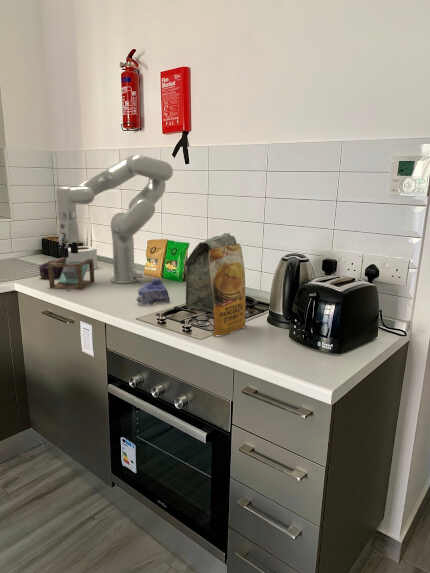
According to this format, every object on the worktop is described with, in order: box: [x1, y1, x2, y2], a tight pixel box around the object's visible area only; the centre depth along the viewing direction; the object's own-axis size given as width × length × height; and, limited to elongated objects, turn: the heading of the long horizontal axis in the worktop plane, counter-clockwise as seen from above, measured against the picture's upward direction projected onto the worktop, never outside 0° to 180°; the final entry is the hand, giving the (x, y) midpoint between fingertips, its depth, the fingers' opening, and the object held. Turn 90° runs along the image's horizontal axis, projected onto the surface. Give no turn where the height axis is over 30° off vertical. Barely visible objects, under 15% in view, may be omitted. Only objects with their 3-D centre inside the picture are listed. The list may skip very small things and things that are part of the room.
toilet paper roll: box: [65, 245, 99, 272], centre depth 230 cm, size 16×15×11 cm
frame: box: [48, 257, 95, 291], centre depth 196 cm, size 14×14×11 cm
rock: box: [38, 258, 63, 280], centre depth 210 cm, size 12×9×10 cm
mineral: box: [135, 278, 171, 305], centre depth 173 cm, size 14×10×10 cm
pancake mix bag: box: [208, 243, 246, 337], centre depth 141 cm, size 7×19×28 cm, turn 138°
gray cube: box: [62, 263, 78, 279], centre depth 194 cm, size 5×5×5 cm
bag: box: [184, 232, 238, 313], centre depth 169 cm, size 22×16×27 cm
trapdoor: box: [58, 262, 88, 284], centre depth 197 cm, size 10×11×1 cm
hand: (69, 255), depth 193 cm, fingers open, 9 cm apart
